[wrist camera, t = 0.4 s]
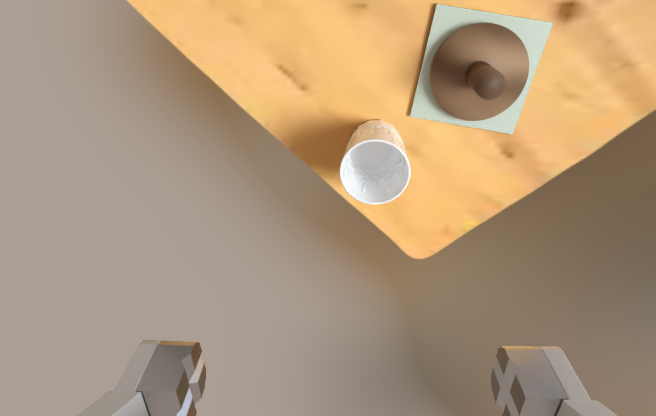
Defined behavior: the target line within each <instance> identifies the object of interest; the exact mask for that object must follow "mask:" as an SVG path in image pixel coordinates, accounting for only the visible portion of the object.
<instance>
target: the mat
mask: <svg viewBox="0 0 656 416" xmlns="http://www.w3.org/2000/svg"><path fill="white" fill-rule="evenodd" d="M483 22H487V23H494V24H498V25H501V26H504V27H506V28H508V29H510V30H511V31H513V32H514V33H515V34H516V35H517V36H518V37H519V38H520V39H521V40H522V42H523V44H524V45H525V48H526V50H527V53H528V57H529V73H528V78H527V82H526V84H525V87H524V89H523V91H522V92H521V94H520V96H519V97H518V98H517V100H516V101H515V102H514V103H513V104H512V105H511V106H510V107H509V108H508V109H506V110H505V111H503V112H502V113H500V114H498V115H496V116H494V117H492V118H489V119H485V120H480V121H466V120H461V119H458V118H455V117H453V116H451V115H450V114H448V113H447V112H445V111H444V110H443V109H442V108H441V107H440V105H439V104H438V103H437V101H436V99H435V97H434V95H433V93H432V90H431V86H430V68H431V63H432V60H433V58H434V55H435V53H436V52H437V50H438V48H439V47H440V45H441V44H442V43H443V42H444V41H445V40H446V39H447V38H448V37H449V36H450V35H451V34H452V33H454V32H455V31H457V30H458V29H460V28H462V27H465V26H467V25H470V24H475V23H483ZM552 25H553V23H551V22H545V21H539V20H533V19H527V18H521V17H515V16H509V15H502V14H496V13H490V12H484V11H478V10H472V9H466V8H460V7H453V6H447V5H441V4H436V8H435V12H434V16H433V20H432V24H431V29H430V33H429V37H428V41H427V45H426V50H425V54H424V58H423V62H422V66H421V71H420V75H419V79H418V83H417V87H416V92H415V96H414V100H413V104H412V108H411V112H410V117H415V118H420V119H426V120H432V121H438V122H444V123H450V124H455V125H461V126H467V127H473V128H479V129H484V130H490V131H496V132H502V133H508V134H513V132H514V129H515V127H516V124H517V121H518V118H519V116H520V113H521V110H522V107H523V105H524V102H525V99H526V96H527V94H528V91H529V88H530V85H531V83H532V80H533V77H534V74H535V71H536V69H537V66H538V63H539V60H540V58H541V55H542V52H543V49H544V47H545V44H546V41H547V38H548V36H549V33H550V30H551V27H552Z"/></svg>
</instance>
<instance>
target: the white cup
mask: <svg viewBox="0 0 656 416" xmlns="http://www.w3.org/2000/svg"><path fill="white" fill-rule="evenodd" d="M340 179H341V182H342V185H343V187H344V188H345V190H346V191H347V192H348V194H349V195H351V196H352V197H353V198H355V199H356V200H358V201H360V202H363V203H366V204H383V203H387V202H390V201H392V200H394V199H395V198H397V197H398V196H399V195H400V194H401V193H402V192H403V191H404V190H405V188H406V187H407V185H408V182H409V179H410V164H409V161H408V158H407V154H406V151H405V147H404V144H403V142H402V140H401V138H400V135H399V132H398V131H397V130H396V129H395V128H394V127H393V125H392V124H390V123H387V122H385V121H382V120H369V121H367V122H365V123H363V124H361V125H359V126H358V127H357V129H356V130H355V132H354V133H353V134H352V136H351V139H350V141H349V143H348V145H347V147H346V150H345V153H344V156H343V159H342V161H341V165H340Z"/></svg>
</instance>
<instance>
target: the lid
mask: <svg viewBox="0 0 656 416" xmlns="http://www.w3.org/2000/svg"><path fill="white" fill-rule="evenodd" d="M528 73H529V57H528V53H527V50H526V48H525V45H524V44H523V42H522V40H521V39H520V38H519V37H518V36H517V35H516V34H515V33H514V32H513V31H511V30H510V29H508V28H506V27H504V26H501V25H498V24H494V23H487V22H483V23H475V24H470V25H467V26H465V27H462V28H460V29H458V30H457V31H455V32H454V33H452V34H451V35H450V36H449V37H448V38H447V39H446V40H445V41H444V42H443V43H442V44H441V45H440V47H439V48H438V50H437V52H436V53H435V55H434V58H433V60H432V63H431V68H430V86H431V90H432V93H433V95H434V97H435V99H436V101H437V103H438V104H439V105H440V107H441V108H442V109H443V110H444V111H445V112H447V113H448V114H450V115H451V116H453V117H455V118H458V119H461V120H466V121H480V120H485V119H489V118H492V117H494V116H496V115H498V114H500V113H502V112H503V111H505V110H506V109H508V108H509V107H510V106H511V105H512V104H513V103H514V102H515V101H516V100H517V98H518V97H519V96H520V94H521V92H522V91H523V89H524V87H525V84H526V82H527V78H528Z"/></svg>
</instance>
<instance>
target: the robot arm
mask: <svg viewBox="0 0 656 416" xmlns="http://www.w3.org/2000/svg"><path fill="white" fill-rule="evenodd" d="M201 352H202V350H201V346H200V343H198V342H184V341H153V340H152V341H151V340H144V341H143V342H141V343H140V344H139V346H138V347H137V349H136V351H135V353H134V355H133V357H132V359H131V361H130V363H129V364H128V366H127V368H126V370H125V372H124V374H123V376H122V378H121V380H120V381H119V383H118V385H117V387H116V389H115V391H109V392H107V393H106V394H105V395H103V396H102V397H101V398H99V399H98V400H97V401H95V402H94V403H93V404H91V405H90V406H89V407H87V408H86V409H85V410H84V411H82V412H81V413H79V414H78V415H77V416H196V408H195V403H196V402H197V401H199V399H201V398H202V395H203V391H204V387H205V381H206V368H205V363H204V362H203V361H202V360H201V359H200V355H201ZM496 357H497V360H498V362H499V363H498V364H496V365H495V366H494V367H493V370H492V374H491V387H492V392H493V396H494V399H495V402H496V404H497V405H498V406H499V407H500V408H502V409H503V410H504V412H503V415H502V416H617V415H616V414H614V413H613V412H612V411H610V410H609V409H608V408H606V407H605V406H604V405H602V404H601V403H600V402H598V401H597V400H591V399H590V397H589V396H588V394H587V392H586V390H585V389H584V387H583V385H582V384H581V382H580V380H579V378H578V377H577V375H576V373H575V371H574V370H573V368H572V366H571V364H570V363H569V361H568V359H567V358H566V356H565V354H564V352H563V351H562V349H560V348H559V347H544V346H542V347H541V346H539V347H537V346H500V348H499V349H498V351H497V355H496Z"/></svg>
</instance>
